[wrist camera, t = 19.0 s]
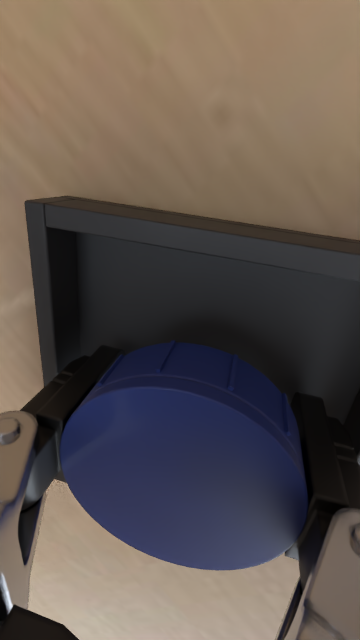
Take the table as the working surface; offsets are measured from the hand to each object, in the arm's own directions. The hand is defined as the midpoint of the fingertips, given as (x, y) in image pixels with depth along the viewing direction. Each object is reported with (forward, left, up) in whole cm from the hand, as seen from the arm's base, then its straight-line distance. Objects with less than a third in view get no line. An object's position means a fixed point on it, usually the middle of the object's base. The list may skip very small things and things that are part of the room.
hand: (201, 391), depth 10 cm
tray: (0, 0, -1) cm, 1 cm away
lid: (0, 0, +3) cm, 3 cm away
